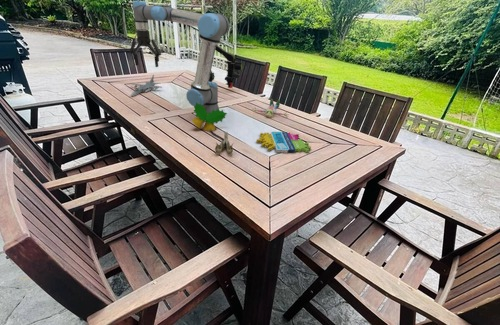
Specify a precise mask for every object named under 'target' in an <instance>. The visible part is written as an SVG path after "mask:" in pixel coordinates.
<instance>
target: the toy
mask: <svg viewBox="0 0 500 325" xmlns="http://www.w3.org/2000/svg"><path fill="white" fill-rule="evenodd" d="M280 101H281V100H280V98H278V99H277V100H276V102H275V104H274V100H273V98H270V101H269V106H268V107H267V108H266V110H265V109H257V108H256V107H254V108H252V109H251V110H252V112H253V113H256V112H258V113H265V114H263V116H264V117H266V118H273V117H274V115H278V116H284V117H289V116H290V115H289V113H288V112H285V113H282V112H278V111H276V109H278V108H279V107H280V104H281V102H280Z"/></svg>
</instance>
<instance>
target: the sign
mask: <svg viewBox="0 0 500 325" xmlns="http://www.w3.org/2000/svg"><path fill="white" fill-rule="evenodd" d="M299 136H300V135H299V134H298V133H296V134H294V133H291V132H287V131H270V132H264V133H263V132H260V133H259V139H258V138H257V139H256V143H257V144H261V148H263V147H264V148H265V149H267V151H268V152H271V151H272V150H273V149H275V152H276V153H283V154H285V153H287V154H288V153H290V154H293V153H296V152H298V153H301V152H305V153H310V151H311V150H312V149H311V148H312V146H309V142H304V141H303V139H302V138H299Z"/></svg>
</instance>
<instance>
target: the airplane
mask: <svg viewBox="0 0 500 325" xmlns="http://www.w3.org/2000/svg"><path fill="white" fill-rule="evenodd" d="M154 78H155V74H152V76H151V78H150V80H149V81H144V83H145V84H139V83H133V82H132V83H130V85H134V86H133V87H132V88H133V89H135V88H136V89H135V90H134V91H132V92H131V94H130V95H129V96H128V97H135V96H137V95H139V94H141V93H148V92H150V91H151V90H153V91H156V90H158V88H161V86H159V85H160V84H161V83H160V82H155V81H154Z"/></svg>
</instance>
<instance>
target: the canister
mask: <svg viewBox="0 0 500 325" xmlns="http://www.w3.org/2000/svg"><path fill="white" fill-rule="evenodd" d="M233 86H234V83H233V82H231V85H230V87H229V86H228V85H227V88H228V89H233V88H234V87H233Z"/></svg>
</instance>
